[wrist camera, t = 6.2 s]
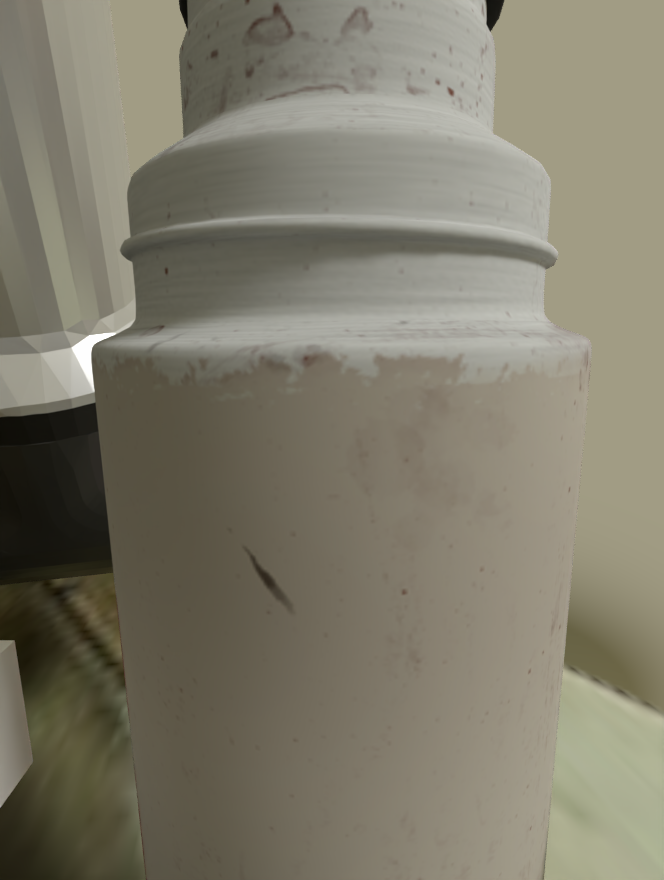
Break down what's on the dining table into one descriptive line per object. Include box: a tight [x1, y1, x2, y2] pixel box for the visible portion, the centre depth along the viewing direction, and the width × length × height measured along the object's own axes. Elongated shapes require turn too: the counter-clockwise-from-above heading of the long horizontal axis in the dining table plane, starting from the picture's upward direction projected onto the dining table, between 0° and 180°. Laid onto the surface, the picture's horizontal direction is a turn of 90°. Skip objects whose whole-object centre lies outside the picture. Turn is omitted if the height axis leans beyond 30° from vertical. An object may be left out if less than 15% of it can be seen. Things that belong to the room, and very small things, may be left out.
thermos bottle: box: [91, 0, 592, 880], centre depth 11 cm, size 8×8×28 cm
